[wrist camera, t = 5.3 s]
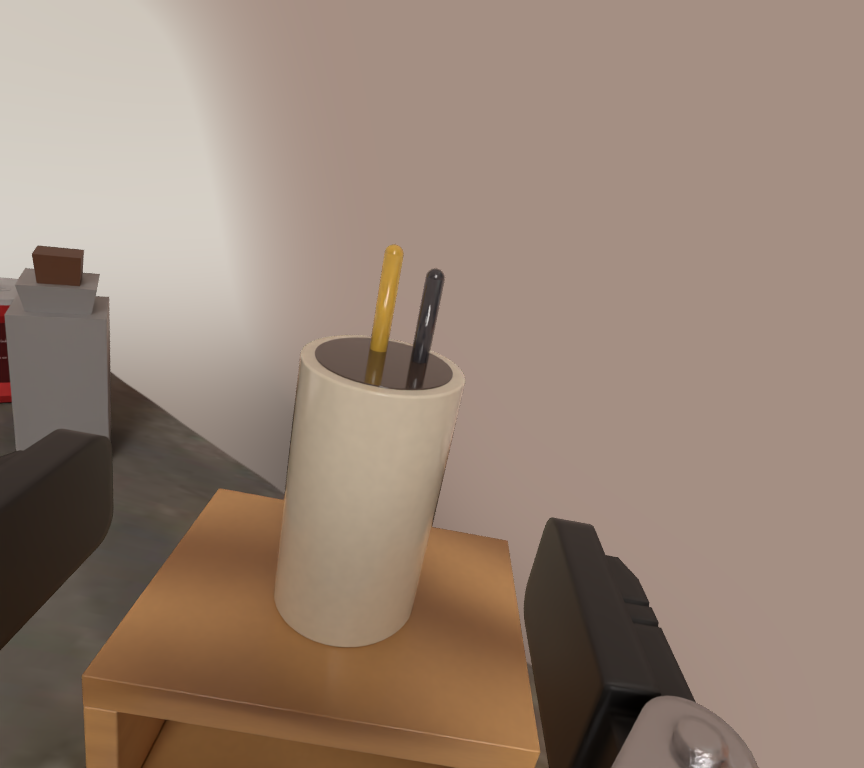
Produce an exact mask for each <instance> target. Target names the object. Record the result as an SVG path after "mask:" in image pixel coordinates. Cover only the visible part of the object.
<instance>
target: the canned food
mask: <svg viewBox="0 0 864 768" xmlns="http://www.w3.org/2000/svg"><path fill="white" fill-rule="evenodd" d="M17 280H18V279H12V278H0V403H6V402H12V396H11V385H10V373H9V361H8V350H7V338H6V326H5V313H6V312H7V310H8V308H9V307H10V305H11V303H12V302H13V300H14V298H15V297H16V295H17V293H18V292H17V289H16V287H15V283H16V282H17Z"/></svg>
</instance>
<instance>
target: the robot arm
mask: <svg viewBox="0 0 864 768" xmlns="http://www.w3.org/2000/svg"><path fill="white" fill-rule="evenodd" d="M112 517H113V465H112V445H111V442H110V440H109V439H108V438H107V437H106V436H102V435H97V434H91V433H86V432H80V431H74V430H69V429H63V428H62V429H57V430H55V431H53V432H51V433H50V434H48V435H47V436H45V437H44V438H42V439H41V440H39V441H37V442H36V443H34V444H33V445H31V446H30V447H28V448H27V449H25V450H24V451H23V450H18V451H15V452H13V453H10V454H7V455H4V456H1V457H0V650H1V649H2V648H3V647H4V646H5V645H6V644H7V643H8V642H9V641H10V639H11V638H12V637H13V636H14V635H15V634H16V633H17V632H18V631H19V630H20V629H21V628H22V627H23V626H24V625H25V624H26V623H27V621H28V620H29V619H30V618H31V617H32V616H33V615H34V614H35V613H36V612H37V611H38V610H39V609H40V608H41V607H42V606H43V605H44V604H45V602H46V601H47V600H48V599H49V598H50V597H51V596H52V595H53V594H54V593H55V592H56V591H57V590H58V589H59V588H60V587H61V586H62V584H63V583H64V582H65V581H66V580H67V579H68V578H69V577H70V576H71V575H72V574H73V573H74V572H75V571H76V570H77V569H78V568H79V566H80V565H81V564H82V563H83V562H84V561H85V560H86V559H87V558H88V557H89V556H90V555H91V554H92V553H93V552H94V551H95V550H96V548H97V547H98V546H99V545H100V544H101V543H102V541H103V540H104V538H105V536H106V534H107V532H108V530H109V527H110V525H111V521H112ZM524 620H525V626H526V632H527V638H528V644H529V650H530V656H531V662H532V668H533V674H534V680H535V686H536V692H537V698H538V704H539V710H540V716H541V722H542V728H543V734H544V740H545V746H546V752H547V758H548V764H549V768H758V766H757V763H756V761H755V759H754V757H753V755H752V753H751V751H750V750H749V748H748V747H747V745H746V744H745V742H744V741H743V740H742V739H741V737H740V736H739V735H738V734H737V733H736V732H735V731H734V729H732V727H731V726H729V725H728V724H727V723H726V722H725V721H724V720H723V719H721V718H720V717H719V716H717V715H716V714H715V713H713V712H712V711H710V710H709V709H707V708H705V707H703V706H702V705H700V704H698V703H696V702H695V700H694V698H693V696H692V693H691V691H690V689H689V687H688V685H687V683H686V680H685V679H684V676H683V674H682V672H681V670H680V668H679V666H678V663H677V661H676V659H675V657H674V655H673V653H672V650H671V648H670V646H669V644H668V642H667V640H666V638H665V635H664V633H663V631H662V629H661V628H659V627H658V620H657V618H656V616H655V614H654V612H653V610H652V608H651V607H649V601H648V599H647V597H646V595H645V592H644V590H643V588H642V586H641V584H640V582H639V579H637V577H636V576H635V575H634V574H633V573H632V572H631V571H630V570H629V569H628V568H627V567H626V566H625V565H624V563H623V562H622V561H621V560H620V559H619V558H618V557H612V556H607V555H605V553H604V551H603V548H602V546H601V543H600V541H599V538H598V536H597V533H596V531H595V529H594V527H593V526H592V525H590V524H585V523H580V522H575V521H569V520H563V519H557V518H550V519H549V520H548V521H547V523H546V525H545V528H544V531H543V535H542V538H541V541H540V544H539V548H538V551H537V554H536V557H535V561H534V563H533V567H532V570H531V573H530V577H529V580H528V583H527V587H526V592H525V600H524Z"/></svg>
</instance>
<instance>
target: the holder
mask: <svg viewBox="0 0 864 768" xmlns="http://www.w3.org/2000/svg"><path fill="white" fill-rule="evenodd" d="M402 261H403V250H402V248H401V247H400V246H398V245H396V244H393V245H390V246H388V247H387V248H386V250H385V254H384V261H383V266H382V274H381V279H380V285H379V292H378V298H377V304H376V311H375V317H374V323H373V329H372V335H371V336H361V335H341V336H331V337H325V338H320V339H317V340H314V341H312V342H310V343H308V344H307V345H305V347H303V349H302V351H301V353H300V362H299V371H298V380H297V388H296V398H295V405H294V414H293V423H292V432H291V441H290V450H289V458H288V467H287V477H286V485H285V494H284V503H283V512H282V520H281V529H280V538H279V547H278V556H277V565H276V573H275V582H274V601H275V604H276V607H277V609H278V611H279V613H280V615H281V617H282V618H283V619H284V621H285V622H286V623H287V624H288V625H289V626H290V627H291V628H292V629H294V630H295V631H296V632H298V633H299V634H301V635H302V636H304V637H306V638H308V639H310V640H313V641H315V642H318V643H321V644H324V645H329V646H334V647H361V646H367V645H371V644H375V643H377V642H380V641H383V640H385V639H387V638H389V637H390V636H392V635H393V634H395V633H396V632H397V631H399V630H400V629H401V628H402V627H403V626H404V625H405V623H406V622H407V620H408V619H409V617H410V615H411V613H412V610H413V607H414V603H415V598H416V594H417V590H418V585H419V581H420V577H421V572H422V568H423V564H424V559H425V555H426V551H427V546H428V542H429V538H430V533H431V529H432V524H433V520H434V516H435V512H436V507H437V503H438V498H439V494H440V490H441V485H442V481H443V477H444V472H445V468H446V464H447V459H448V455H449V451H450V446H451V442H452V438H453V433H454V429H455V425H456V420H457V416H458V412H459V407H460V403H461V399H462V394H463V390H464V386H465V376H464V373H463V372H462V370H461V369H460V368H459V367H458V366H457V365H456V364H455V363H453V362H452V361H450V360H449V359H447V358H446V357H443V356H442V355H440V354H438V353H435V352H433V351H431V350H430V349H431V345H432V340H433V335H434V330H435V325H436V320H437V315H438V310H439V305H440V300H441V295H442V290H443V285H444V280H445V276H444V273H443V272H442V271H441V270H440V269H437V268H434V269H431V270H429V271H428V273H427V274H426V279H425V284H424V289H423V295H422V300H421V306H420V311H419V316H418V321H417V327H416V332H415V337H414V343H413V344H410V343H406V342H401V341H398V340H393V339H389V336H390V331H391V325H392V319H393V313H394V308H395V302H396V296H397V290H398V284H399V278H400V273H401V267H402Z"/></svg>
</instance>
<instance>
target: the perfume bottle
mask: <svg viewBox="0 0 864 768" xmlns="http://www.w3.org/2000/svg"><path fill="white" fill-rule="evenodd" d="M83 255H84V250H79V249H68V248H58V247H47V246H37V247H36V249H35V250H34V252H33V253H32V257H33V263H34V269H27V268H25V270H24V271H23V273H22V274H21V276H20V277H19V279H18V280H17V282H16V283H15V287H16V289H17V292H18V293H17V295H16V297H15V298H14V300H13V302H12V303H11V305H10V307H9V308H8V310H7V312H6V313H5V326H6V338H7V350H8V361H9V373H10V385H11V396H12V408H13V419H14V431H15V443H16V451H18V450H23V451H24V450H25V449H27V448H28V447H30V446H31V445H33V444H34V443H36V442H37V441H39V440H41V439H42V438H44V437H45V436H47V435H48V434H50V433H51V432H53V431H55V430H57V429H62V428H63V429H69V430H74V431H80V432H86V433H91V434H97V435H102V436H106V437H107V438H108V439H109V440H110V439H111V385H110V330H109V329H110V326H109V297H99V296H96V291H97V286H98V280H99V275H100V274H92V273H83Z"/></svg>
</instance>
